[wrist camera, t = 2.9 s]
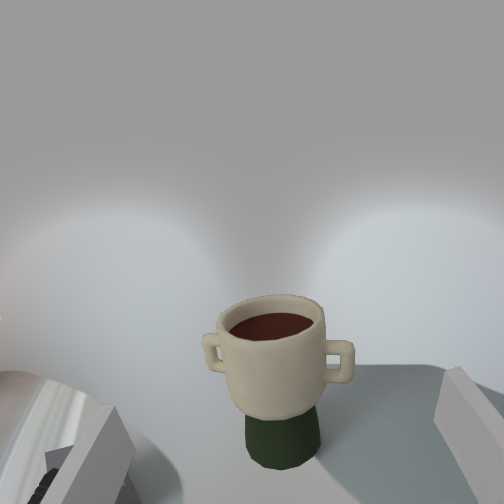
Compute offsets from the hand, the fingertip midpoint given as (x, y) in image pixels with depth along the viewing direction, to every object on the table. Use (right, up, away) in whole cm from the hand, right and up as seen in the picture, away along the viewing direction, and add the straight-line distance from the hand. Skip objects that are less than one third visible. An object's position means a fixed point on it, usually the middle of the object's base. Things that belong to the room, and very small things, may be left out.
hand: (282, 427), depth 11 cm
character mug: (+2, -10, +13) cm, 17 cm away
